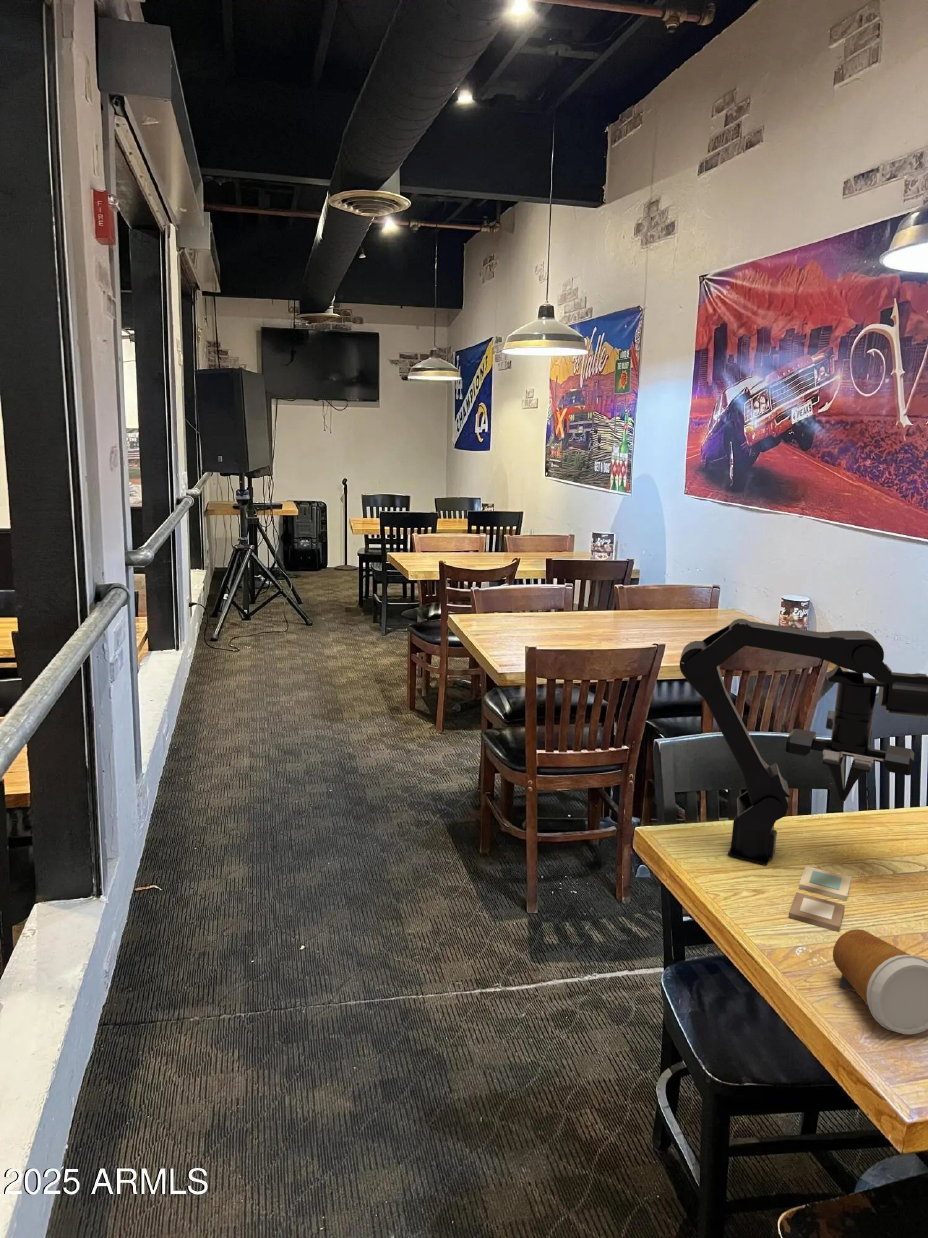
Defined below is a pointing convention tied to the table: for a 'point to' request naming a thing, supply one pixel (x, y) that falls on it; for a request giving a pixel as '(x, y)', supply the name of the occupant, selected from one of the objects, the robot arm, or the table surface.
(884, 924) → the table surface
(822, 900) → the walnut marker tile
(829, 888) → the birch marker tile
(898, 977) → the disposable coffee cup
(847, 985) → the black coaster
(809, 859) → the table surface
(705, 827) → the table surface
